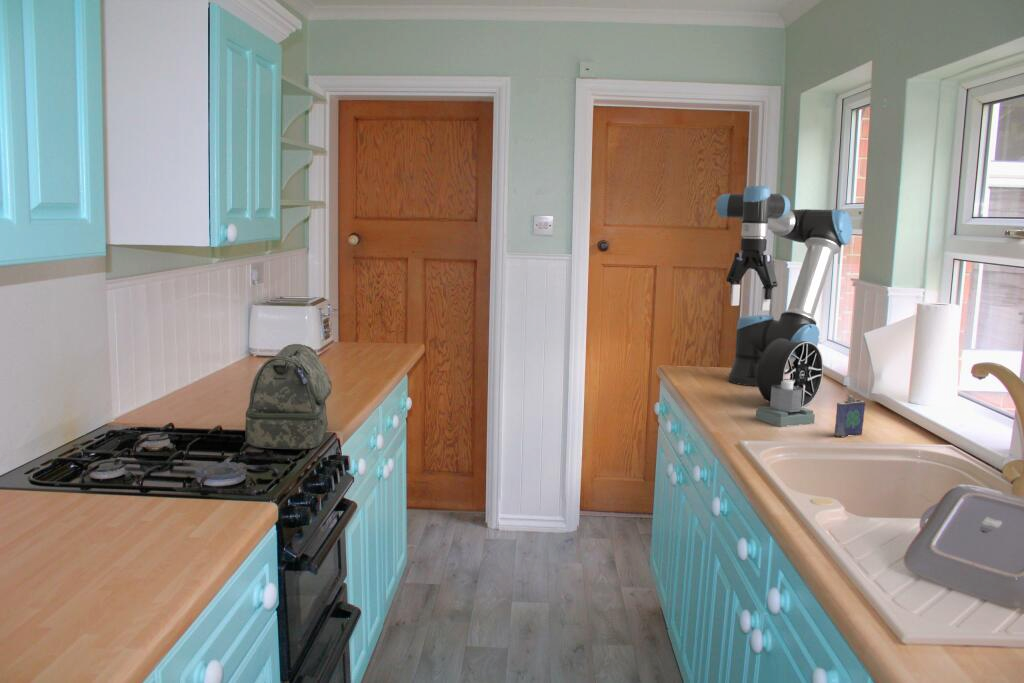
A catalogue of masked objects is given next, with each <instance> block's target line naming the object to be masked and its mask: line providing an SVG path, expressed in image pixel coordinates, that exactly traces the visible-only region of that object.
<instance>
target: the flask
mask: <svg viewBox="0 0 1024 683" xmlns="http://www.w3.org/2000/svg"><path fill="white" fill-rule="evenodd" d="M846 397H847V398H846V400H847V401H845V400H844V401H839V402H837V403H836V413H835V425H834V433H833V434H834V436H848V435H855V436H862V435H863V427H864V426H863V425H864V421H865V419H864V417H865V416H864V415H865V408H866V401H865V400H862V399H858V398H856V399H854V395H853V394H852V395H851V394H847V395H846ZM861 434H862V435H861Z"/></svg>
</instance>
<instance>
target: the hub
mask: <svg viewBox="0 0 1024 683" xmlns="http://www.w3.org/2000/svg"><path fill="white" fill-rule="evenodd" d="M801 398H802V387H798V386H794V385H793V389H782V388H781V384H780V385H772V387H771V401H769V402H770V403H769V404H770V405H769V407H770V409H774V410H777V411H784V412H798V411H800V410H801Z"/></svg>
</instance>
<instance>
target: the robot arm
mask: <svg viewBox="0 0 1024 683" xmlns="http://www.w3.org/2000/svg"><path fill="white" fill-rule="evenodd" d="M715 209H716V213H717V215H718V216H719V217H721V218H726V219H729V218H732V219H736V220H739V221H742V222H741V234H740V235H741V237H743V238H741V239H740V251H742V252H735V253H734V256H733V257H734V258H733V262H732V264H731V266H730V269H729V271H728V274H727V276H726V279H725V280H726V282H727V283H729V284H730V306H732V307H733V306H734V307H735V306H739V305H740V297H741V284H740V282H741V280H742V279H743V278H744V275H745V274H746V273H747V271H748V270H749V269H752V270H754V271H755V272H756V273H757V276H758V278H759V280H760V282H761V284H762V288H761V296H760V297H761V298H760V311H770V306H771V305H770V304H771V299H772V295H773V294H772V292H773V288H776V287H778V279H777V276H776V273H775V269H774V267H773V266H774V265H773V261H772V260H773V258H772V257H773V256H772V254H764V252H766V250H767V243H768V242H767V241H768V240H767V238H766V237H768V230H769V231H771V233H772V234H774V235H775V236H777V237H781V238H784V239H786V240H790V241H792V242H796V243H803V244H804V246H805V247H806V248H807V250H806V252H805V255H804V258H803V261H802V265H801V268H800V270H799V274H798V277H797V280H796V283H795V286H794V289H793V292H792V295H791V297H790V301H789V304H788V308H787V310H786V311H783V312H781V314H780V317H779V319H778V320H775V319H774V315H768V314H764V315H762V314H761V315H748V316H742V317H739V319H738V320H737V325H736V336H735V337H736V339H735V340H736V341H735V342H736V343H735V357H734V361H733V364H732V367H731V370H730V372H729V374H728V381H729V380H730V381H732V382H731V383H733V382H735V383H734V384H736V383H740V384H739V385H742V384H746V385H745V386H750V385H754V386H753V387H758V383H757V369H758V364H759V361H760V358H761V355H762V353H763V351H764V350H765V348H766V347H767V346H768V345H769V344H770V343H771V342H772V341H773V340H775V339H778V338H784V339H787V340H789V341H790V342H797V343H798V342H801V341H807V342H811V343H813V344H815V345H816V346H817V347H818V345H819V341H820V338H819V336H820V329H819V327H818V326H817V321H816V320H815V313H816V310H817V308H818V304H819V301H820V298H821V294H822V292H823V289H824V286H825V282H826V280H827V276H828V272H829V269H830V267H831V263H832V261H833V257H834V256H835V255H837V254H839V253H840V251H841V247H842V246H846V245H848V244H850V242H851V239H852V237H853V223H852V220H851V217H850V214H849V213H848V212H847V211H846V210H844V209H835V208H833V209H814V208H813V209H810V208H809V209H808V208H804V209H791V202H790V199H789V198H788V197H787V196H786V195H783V194H780V193H771V188H770V187H769V186H768V185H767V186H766V185H748V186H746V187H744V192H743V193H723V194H721V195H720V196H719V197H718V198H717V200H716V205H715ZM792 354H794V355H795V356H796V353H795V351H793V353H792ZM789 359H796V358H795V357H793V356H792V355H791V356H790V358H789ZM730 381H729V382H730Z"/></svg>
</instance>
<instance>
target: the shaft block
mask: <svg viewBox="0 0 1024 683" xmlns="http://www.w3.org/2000/svg"><path fill="white" fill-rule="evenodd" d="M781 388H782V389H793V382H790V381H781ZM815 416H816V415H815V414H814V410H812V409H809V408H805V407H803V408H802V407H801V410H800V411H798V412H784V411H777V410H774V409H770V406H766V405H762V406H761V405H759V406H757V409H756V410H755V416H754V417H755V418H754V419H755V420H758V421H762V422H764V421H765V423H767V422H768V424H770V423H771V425H773V424H774V426H776V425H778V426H777V427H779V426H784V427H788V426H787V425H794V426H800V425H799V424H803V425H809V424H808V423H813V424H815Z"/></svg>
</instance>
